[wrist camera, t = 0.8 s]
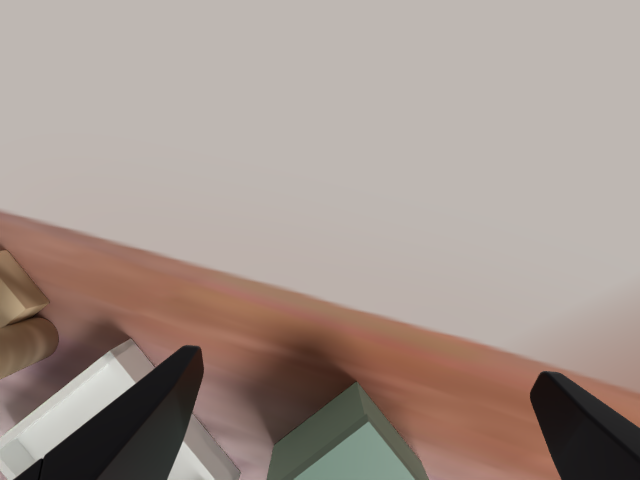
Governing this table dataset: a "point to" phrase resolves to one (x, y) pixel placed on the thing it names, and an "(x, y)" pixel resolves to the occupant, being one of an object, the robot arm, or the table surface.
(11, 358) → the tan cylinder with block
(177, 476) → the tray
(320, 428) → the green lidded box
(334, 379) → the table surface
